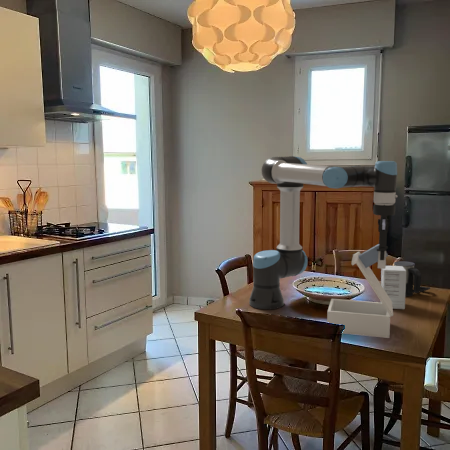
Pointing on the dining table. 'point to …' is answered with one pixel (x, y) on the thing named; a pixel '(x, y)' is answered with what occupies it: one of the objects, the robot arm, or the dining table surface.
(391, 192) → the robot arm
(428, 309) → the dining table surface
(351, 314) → the mailer box
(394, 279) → the supplement box
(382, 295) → the mailer lid
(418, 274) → the milk frother
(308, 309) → the dining table surface
